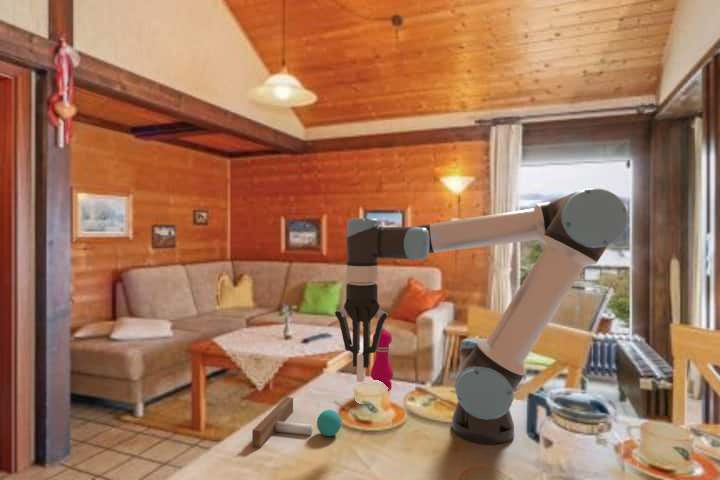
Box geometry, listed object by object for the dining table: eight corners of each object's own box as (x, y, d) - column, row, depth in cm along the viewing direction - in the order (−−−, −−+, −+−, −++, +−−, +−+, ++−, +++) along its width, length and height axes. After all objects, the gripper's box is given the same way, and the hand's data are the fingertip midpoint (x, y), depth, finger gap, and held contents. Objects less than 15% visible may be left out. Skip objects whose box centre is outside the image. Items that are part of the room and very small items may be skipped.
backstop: (293, 412, 120) (293, 397, 120) (260, 448, 101) (260, 431, 101) (286, 411, 121) (286, 397, 121) (252, 447, 101) (252, 430, 101)
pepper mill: (391, 392, 135) (392, 328, 134) (368, 390, 136) (369, 327, 135) (394, 384, 142) (395, 323, 141) (372, 382, 143) (373, 322, 143)
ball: (318, 407, 111) (324, 430, 111) (310, 418, 105) (317, 442, 105) (340, 403, 110) (346, 427, 110) (333, 414, 104) (340, 438, 104)
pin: (311, 423, 108) (277, 419, 109) (309, 432, 106) (274, 429, 108) (313, 427, 109) (279, 423, 111) (311, 436, 108) (276, 433, 109)
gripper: (391, 281, 106) (390, 377, 107) (340, 279, 109) (339, 372, 110) (386, 286, 99) (385, 388, 100) (331, 283, 102) (330, 383, 103)
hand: (361, 380), depth 105 cm, fingers closed
